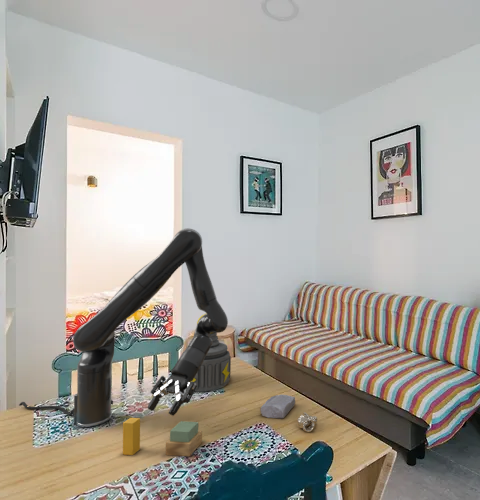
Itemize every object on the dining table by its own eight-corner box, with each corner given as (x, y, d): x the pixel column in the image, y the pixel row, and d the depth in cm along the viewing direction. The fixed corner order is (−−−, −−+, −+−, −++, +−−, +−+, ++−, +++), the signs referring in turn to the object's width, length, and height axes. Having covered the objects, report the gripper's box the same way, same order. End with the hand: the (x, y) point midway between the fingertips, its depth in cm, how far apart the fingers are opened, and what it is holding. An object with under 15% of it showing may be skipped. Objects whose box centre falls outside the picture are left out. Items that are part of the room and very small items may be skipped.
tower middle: (169, 441, 99) (169, 430, 99) (180, 431, 104) (180, 421, 104) (188, 442, 98) (188, 431, 98) (198, 432, 104) (198, 422, 104)
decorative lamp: (239, 378, 154) (241, 311, 154) (210, 395, 137) (211, 319, 136) (204, 373, 160) (205, 308, 160) (172, 388, 142) (173, 315, 142)
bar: (122, 454, 98) (122, 422, 98) (130, 448, 101) (130, 417, 101) (132, 455, 98) (133, 423, 98) (140, 449, 101) (140, 418, 101)
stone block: (258, 421, 121) (285, 419, 119) (256, 407, 121) (283, 404, 119) (273, 407, 132) (297, 404, 130) (271, 394, 133) (295, 391, 131)
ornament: (322, 429, 113) (322, 418, 113) (302, 435, 110) (302, 423, 110) (312, 418, 120) (312, 408, 120) (293, 423, 117) (293, 412, 117)
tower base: (165, 455, 98) (165, 442, 98) (179, 441, 105) (179, 429, 105) (189, 456, 98) (189, 444, 98) (202, 442, 105) (202, 430, 105)
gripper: (166, 355, 119) (135, 403, 108) (200, 361, 114) (171, 411, 104) (179, 366, 124) (150, 412, 113) (211, 371, 119) (184, 420, 109)
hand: (160, 412), depth 108 cm, fingers open, 8 cm apart
